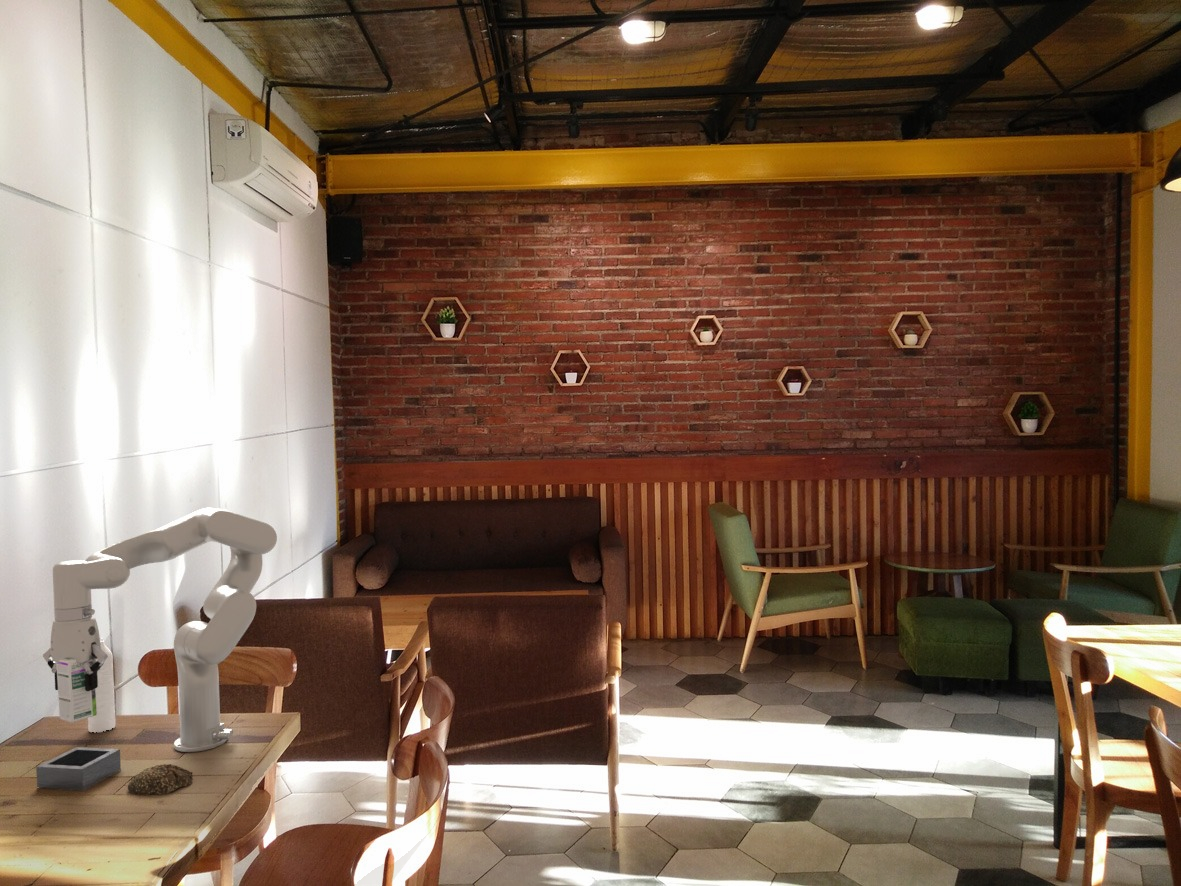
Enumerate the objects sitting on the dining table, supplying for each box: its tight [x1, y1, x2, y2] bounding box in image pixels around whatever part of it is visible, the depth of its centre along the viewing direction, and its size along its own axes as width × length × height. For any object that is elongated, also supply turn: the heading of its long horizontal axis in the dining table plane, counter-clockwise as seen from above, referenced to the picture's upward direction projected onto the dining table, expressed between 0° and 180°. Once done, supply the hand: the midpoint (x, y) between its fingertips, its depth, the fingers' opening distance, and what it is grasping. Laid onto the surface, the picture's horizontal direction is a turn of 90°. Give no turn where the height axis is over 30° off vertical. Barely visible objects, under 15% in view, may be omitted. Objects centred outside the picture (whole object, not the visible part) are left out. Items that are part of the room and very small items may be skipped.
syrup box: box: [56, 656, 97, 723], centre depth 203 cm, size 6×6×14 cm
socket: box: [35, 746, 122, 792], centre depth 204 cm, size 12×12×5 cm
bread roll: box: [127, 763, 193, 796], centre depth 199 cm, size 13×12×5 cm
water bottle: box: [87, 637, 116, 734], centre depth 236 cm, size 9×6×25 cm
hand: (76, 688), depth 203 cm, fingers closed on syrup box, 7 cm apart
